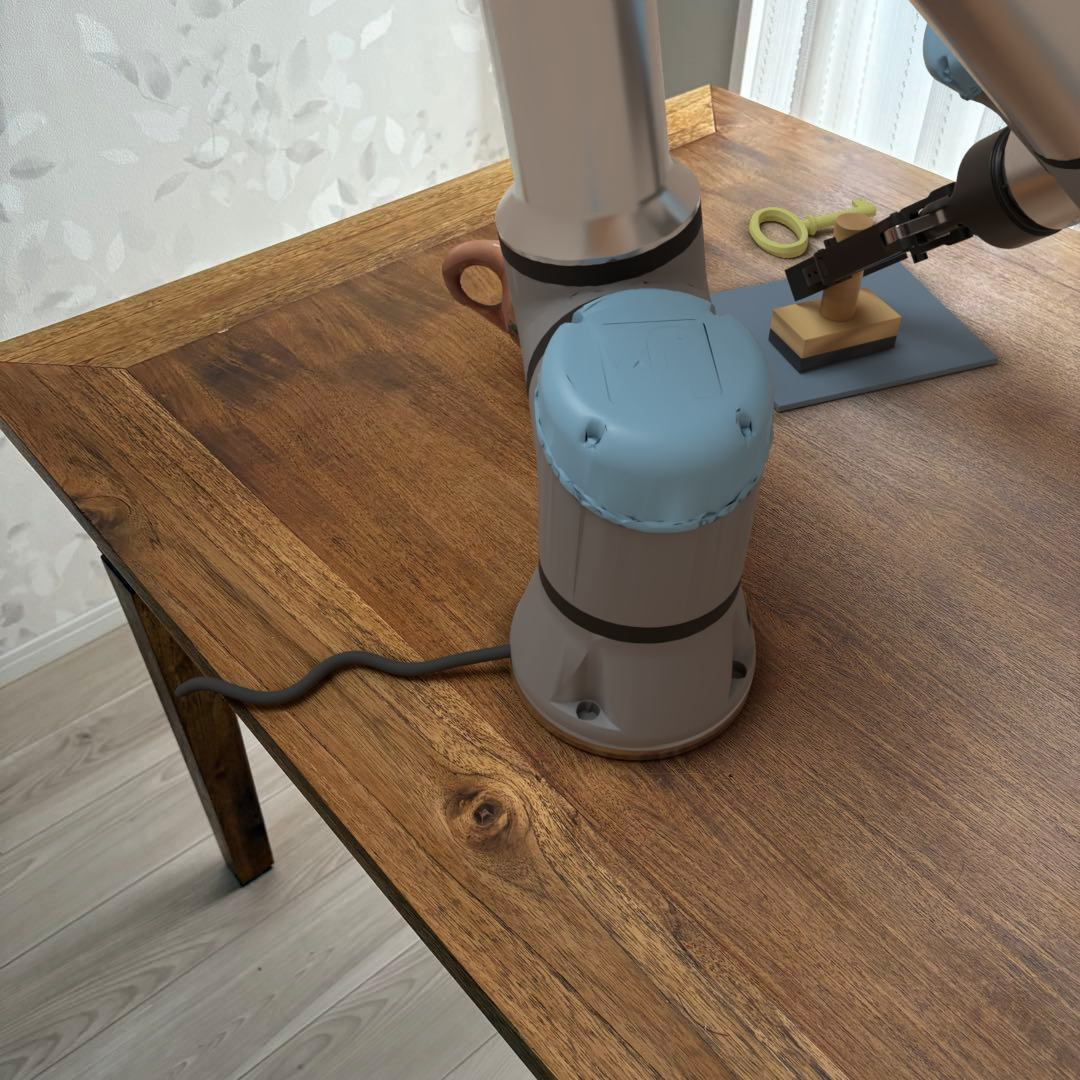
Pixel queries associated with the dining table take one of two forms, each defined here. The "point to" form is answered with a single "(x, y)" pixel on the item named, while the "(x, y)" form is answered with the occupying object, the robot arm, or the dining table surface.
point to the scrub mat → (919, 353)
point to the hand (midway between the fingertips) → (820, 275)
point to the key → (798, 226)
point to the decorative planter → (491, 258)
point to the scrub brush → (836, 317)
